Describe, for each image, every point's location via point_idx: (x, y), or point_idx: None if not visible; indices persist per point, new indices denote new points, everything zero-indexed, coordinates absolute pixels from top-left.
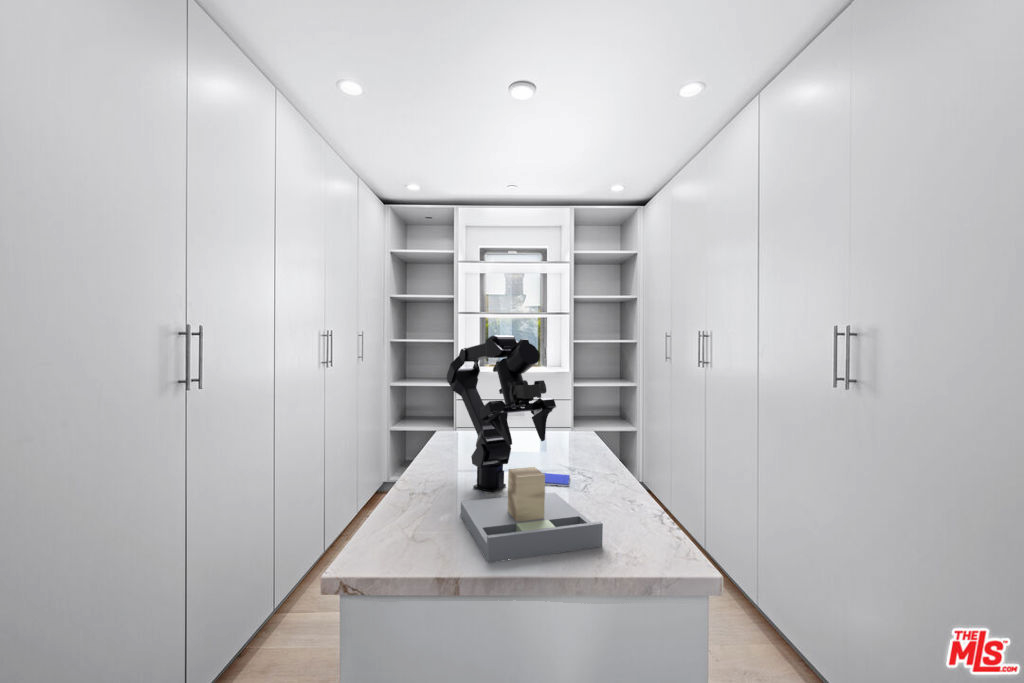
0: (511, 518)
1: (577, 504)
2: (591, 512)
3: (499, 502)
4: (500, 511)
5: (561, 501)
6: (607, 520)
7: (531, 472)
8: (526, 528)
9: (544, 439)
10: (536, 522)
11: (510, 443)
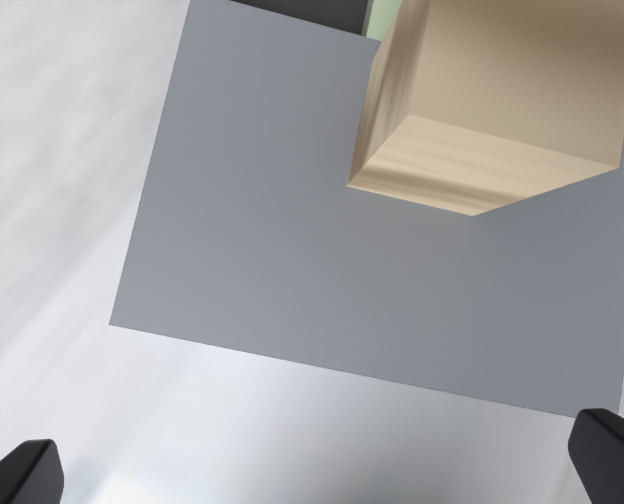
0: None
1: (14, 270)
2: (26, 153)
3: (457, 328)
4: (504, 224)
5: (165, 190)
6: (29, 46)
7: (509, 4)
8: None
9: (33, 440)
10: None
11: (611, 412)
